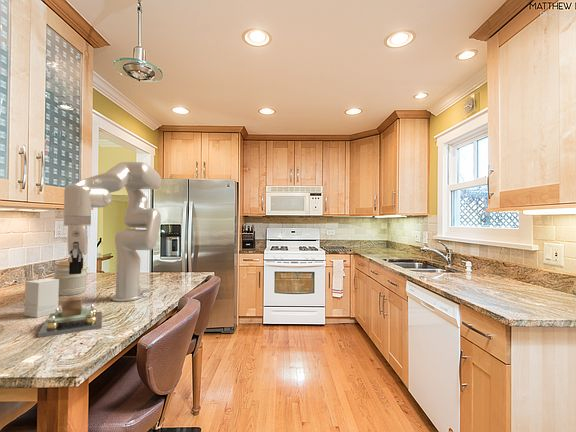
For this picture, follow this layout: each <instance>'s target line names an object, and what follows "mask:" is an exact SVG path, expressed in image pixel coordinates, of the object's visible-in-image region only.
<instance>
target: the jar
mask: <svg viewBox="0 0 576 432" xmlns="http://www.w3.org/2000/svg"><path fill="white" fill-rule="evenodd" d="M69 262H70V256H68V259H67V260H61V261H59V262H58V263H56V267H55V268H54V269H53V271H54V275H53V279H59V294H58V296H72V295H77V294H78V295H79V294H81V293H85V292H86V290H87V275H88V274H87V272H86V270H87V269H88V267H87V266H86V265H85V264H86V262H84V261H83V269H81V274H71V275H70V274H69Z"/></svg>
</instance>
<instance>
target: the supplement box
mask: <svg viewBox="0 0 576 432" xmlns="http://www.w3.org/2000/svg"><path fill="white" fill-rule="evenodd" d="M24 285H25V288H24V289H25V290H24V307H23V308H24V312H23V313H24V314H23V316H24V317H31V318H41V317H44V316H50V314H51V313H55V310H56V308H59V295H58V294H59V279H54V278H47V277H46V278H38V279H34V280H28V281H25V284H24Z"/></svg>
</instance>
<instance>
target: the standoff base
mask: <svg viewBox="0 0 576 432" xmlns="http://www.w3.org/2000/svg"><path fill="white" fill-rule="evenodd" d="M94 306H95V305H94V303H91V304H90V309H91V308H94ZM97 310H98V309H97V308H94V312H93V311H90V317H86V319H84V320H76V321H69V322H61V323H54V318H55V316H51V322H48V323H47V319H48V318H49V317H47V318H46V319H45V321H44V322H43V324H42V325H41V328H40V329H39V331H38V333H37V338H45V337H50V336H52V337H53V336H58V335H64V334H69V333H77V332H84V331H91V330H96V329H102V327H103V326H102V324H103V323H102V321H103V319H102V318H103V314H102V313H103V312H102V311H97ZM59 311H60V310H59V307H58V308H56V310H55V313H57V312H59Z"/></svg>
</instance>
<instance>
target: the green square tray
mask: <svg viewBox="0 0 576 432" xmlns="http://www.w3.org/2000/svg"><path fill="white" fill-rule="evenodd" d="M82 303H83V296H82V295H81V296H72V297H71V296H70V297H64V298H63V299H62V303H61V305H62V306H61V310H58V312H57V313H51V314H49V315H48V317H47V318H48V319H47V318H46V319H47V323H48V322H51V316H55V318H54V323H61V322H69V321H76V320H84V319H86V317H90V311H93V312H94V309H95V308H94V307H93V308H91V307H90V308H88V307H83V305H82Z"/></svg>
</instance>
